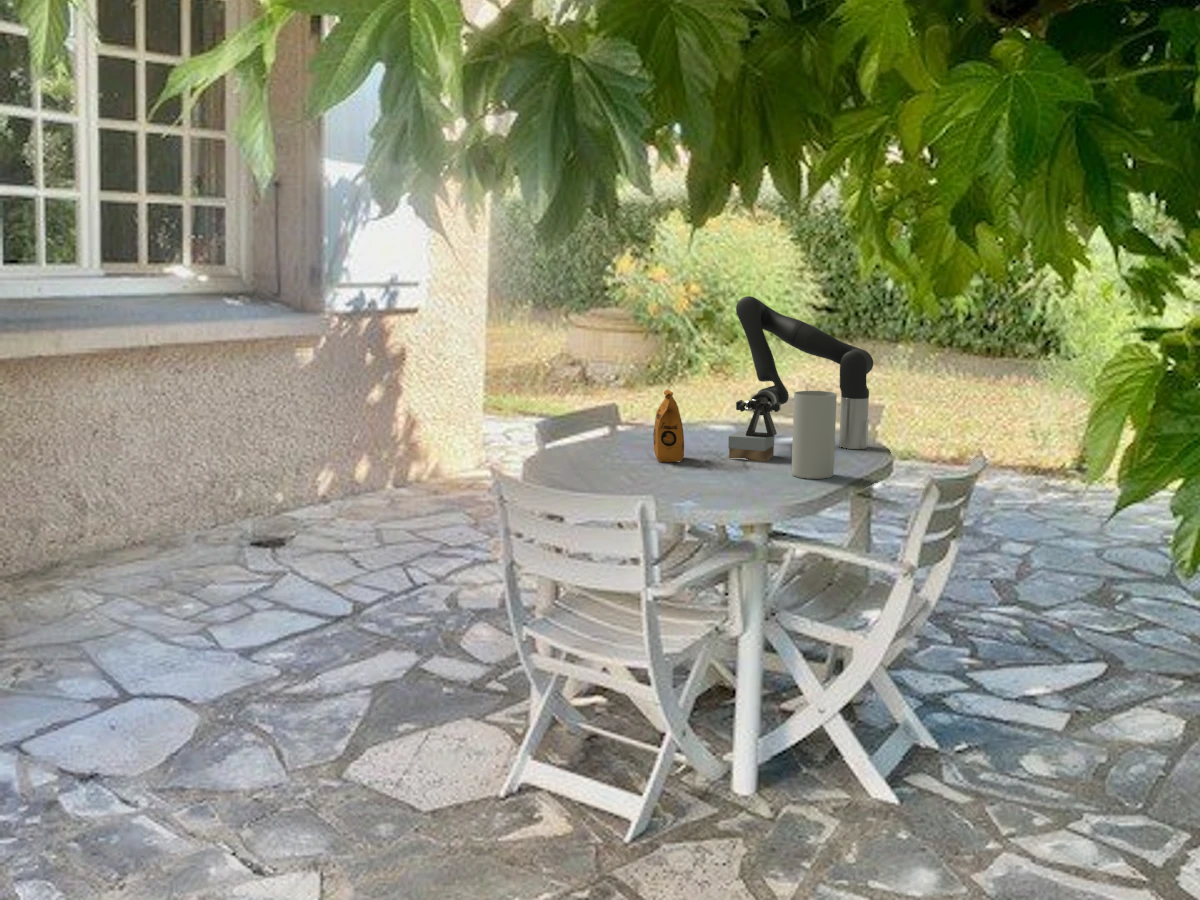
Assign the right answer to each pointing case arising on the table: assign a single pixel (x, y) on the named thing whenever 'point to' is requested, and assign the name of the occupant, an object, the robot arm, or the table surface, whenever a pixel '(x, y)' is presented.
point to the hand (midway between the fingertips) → (753, 408)
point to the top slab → (750, 442)
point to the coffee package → (668, 431)
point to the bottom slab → (752, 454)
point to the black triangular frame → (767, 420)
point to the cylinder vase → (813, 434)
